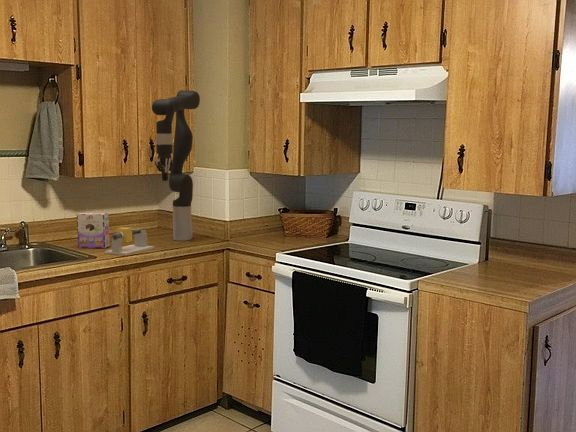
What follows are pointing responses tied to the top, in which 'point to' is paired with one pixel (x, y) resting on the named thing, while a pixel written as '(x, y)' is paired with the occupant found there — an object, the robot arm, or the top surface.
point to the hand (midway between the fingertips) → (165, 180)
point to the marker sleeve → (126, 234)
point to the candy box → (93, 230)
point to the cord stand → (131, 249)
